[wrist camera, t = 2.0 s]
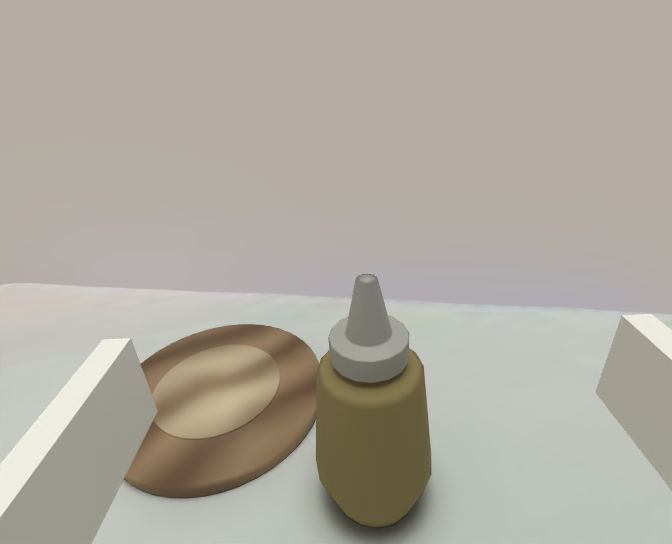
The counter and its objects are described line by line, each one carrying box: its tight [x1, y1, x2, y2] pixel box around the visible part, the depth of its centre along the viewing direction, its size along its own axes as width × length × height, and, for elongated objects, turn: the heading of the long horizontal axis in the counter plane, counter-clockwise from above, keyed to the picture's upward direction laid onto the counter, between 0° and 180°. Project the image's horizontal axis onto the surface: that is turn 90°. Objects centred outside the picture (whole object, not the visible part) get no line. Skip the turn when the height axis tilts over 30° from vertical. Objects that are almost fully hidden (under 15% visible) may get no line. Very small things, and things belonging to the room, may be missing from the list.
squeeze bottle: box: [316, 274, 431, 528], centre depth 25 cm, size 8×8×18 cm
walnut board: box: [124, 324, 319, 498], centre depth 38 cm, size 20×20×2 cm
